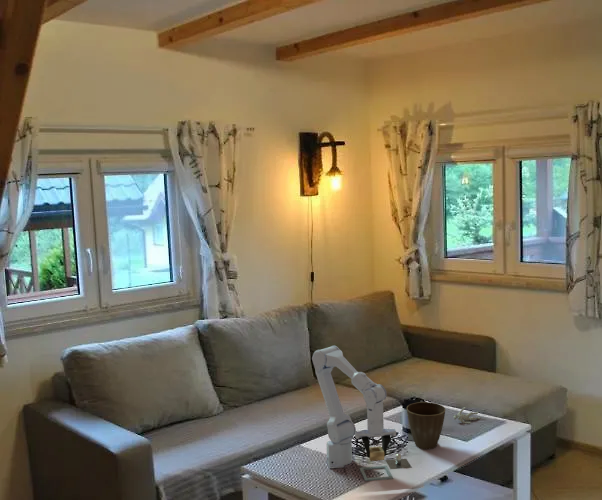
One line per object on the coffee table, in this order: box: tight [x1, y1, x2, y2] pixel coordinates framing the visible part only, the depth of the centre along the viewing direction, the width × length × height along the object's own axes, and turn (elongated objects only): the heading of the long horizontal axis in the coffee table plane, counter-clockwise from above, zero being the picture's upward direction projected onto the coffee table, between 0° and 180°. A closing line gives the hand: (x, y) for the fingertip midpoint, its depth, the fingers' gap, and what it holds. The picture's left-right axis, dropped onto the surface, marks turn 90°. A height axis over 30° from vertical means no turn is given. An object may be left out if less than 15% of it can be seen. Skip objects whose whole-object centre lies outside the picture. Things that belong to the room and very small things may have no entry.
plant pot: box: [406, 401, 446, 450], centre depth 278 cm, size 15×15×16 cm
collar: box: [369, 445, 385, 462], centre depth 254 cm, size 5×5×3 cm
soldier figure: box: [453, 406, 481, 425], centre depth 306 cm, size 8×5×12 cm
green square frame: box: [359, 465, 394, 482], centre depth 255 cm, size 10×10×2 cm
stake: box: [385, 453, 413, 470], centre depth 262 cm, size 8×8×4 cm
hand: (375, 456), depth 254 cm, fingers closed on collar, 5 cm apart
